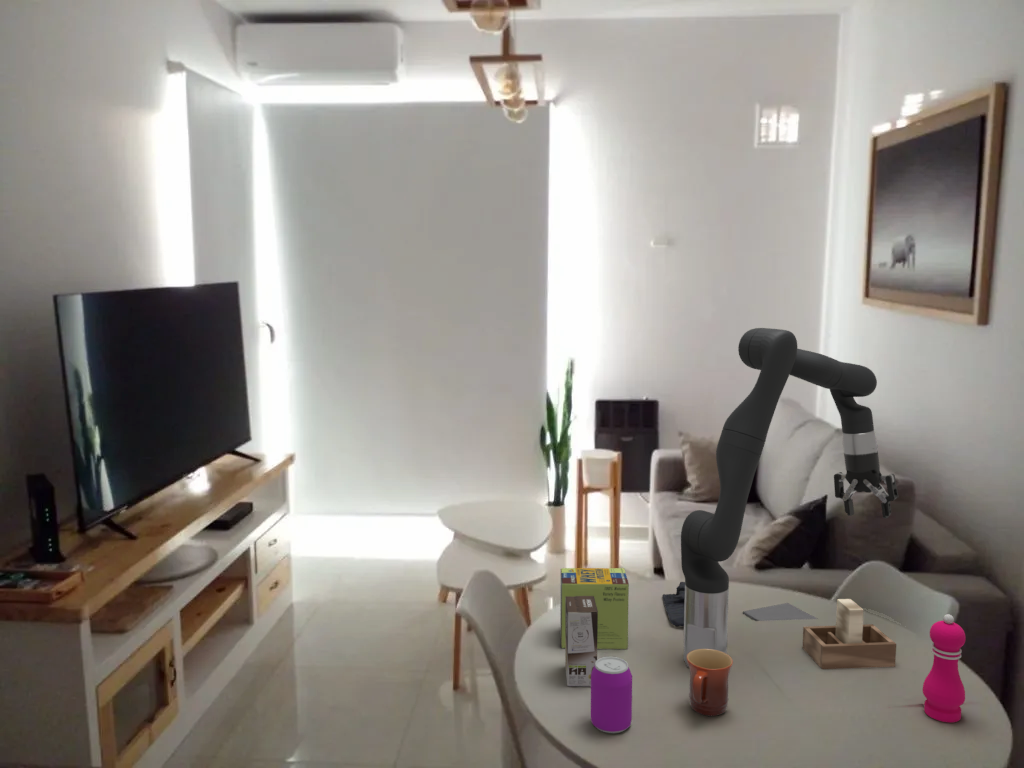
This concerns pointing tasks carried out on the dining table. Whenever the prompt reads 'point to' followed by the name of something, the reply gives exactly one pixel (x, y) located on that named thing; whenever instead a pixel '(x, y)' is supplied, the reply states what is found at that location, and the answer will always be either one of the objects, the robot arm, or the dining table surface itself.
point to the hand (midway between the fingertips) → (868, 516)
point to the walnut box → (849, 648)
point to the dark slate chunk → (675, 605)
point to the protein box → (600, 602)
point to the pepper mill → (945, 672)
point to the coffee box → (580, 639)
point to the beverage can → (611, 695)
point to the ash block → (849, 621)
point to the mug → (709, 681)
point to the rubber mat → (778, 613)
